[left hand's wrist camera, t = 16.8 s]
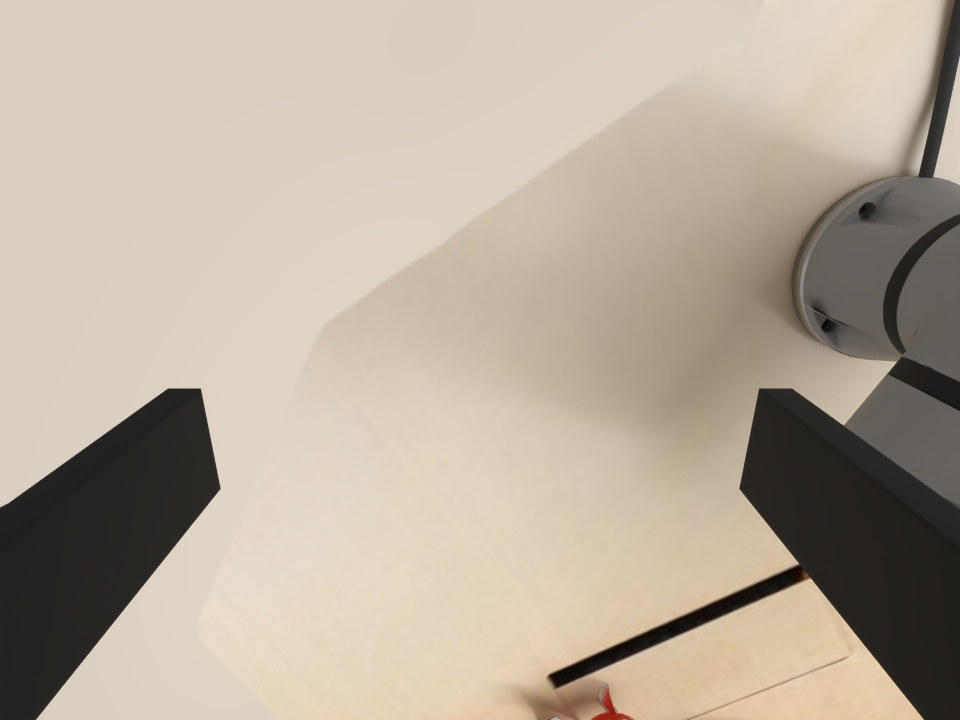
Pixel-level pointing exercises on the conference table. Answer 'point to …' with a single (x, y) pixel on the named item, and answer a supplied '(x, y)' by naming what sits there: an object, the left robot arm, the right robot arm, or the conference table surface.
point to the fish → (606, 707)
